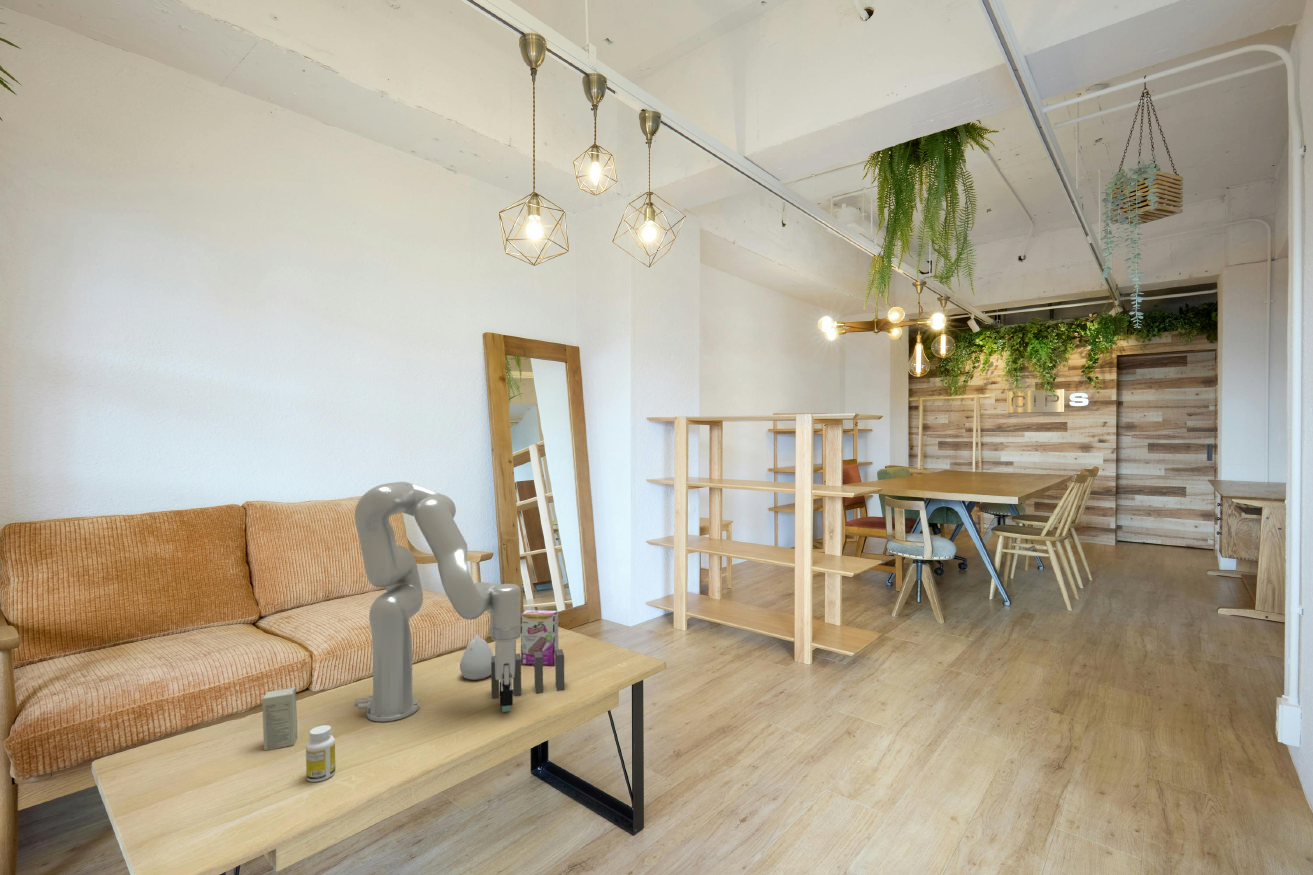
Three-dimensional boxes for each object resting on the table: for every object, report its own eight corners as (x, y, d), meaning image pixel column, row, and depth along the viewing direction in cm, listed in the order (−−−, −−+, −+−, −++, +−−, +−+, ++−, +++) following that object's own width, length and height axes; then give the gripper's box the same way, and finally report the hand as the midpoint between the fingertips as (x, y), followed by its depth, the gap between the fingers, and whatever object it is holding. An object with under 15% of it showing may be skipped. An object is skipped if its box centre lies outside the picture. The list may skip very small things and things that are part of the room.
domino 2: (502, 711, 156) (502, 673, 156) (501, 703, 161) (502, 666, 161) (510, 711, 157) (510, 672, 157) (509, 703, 162) (509, 665, 162)
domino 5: (557, 690, 170) (557, 655, 170) (555, 684, 175) (555, 649, 175) (564, 689, 170) (564, 654, 171) (562, 683, 175) (562, 648, 175)
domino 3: (513, 696, 167) (513, 659, 167) (513, 689, 172) (512, 654, 172) (521, 695, 167) (520, 659, 167) (520, 688, 172) (520, 653, 172)
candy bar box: (520, 665, 190) (519, 613, 190) (525, 660, 195) (524, 609, 195) (555, 666, 189) (554, 614, 189) (559, 660, 194) (558, 609, 194)
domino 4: (535, 693, 168) (535, 657, 168) (534, 686, 173) (534, 651, 173) (543, 692, 169) (542, 656, 169) (541, 685, 174) (541, 651, 174)
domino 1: (491, 698, 165) (491, 662, 165) (491, 691, 170) (491, 656, 170) (499, 697, 166) (498, 661, 166) (498, 690, 170) (498, 655, 171)
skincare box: (297, 737, 144) (297, 686, 145) (294, 745, 140) (293, 693, 141) (266, 742, 142) (266, 690, 142) (262, 751, 138) (261, 697, 138)
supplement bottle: (327, 766, 131) (327, 721, 131) (340, 773, 128) (340, 727, 128) (301, 777, 127) (301, 730, 127) (314, 785, 124) (313, 737, 124)
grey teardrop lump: (456, 673, 184) (456, 634, 184) (491, 667, 189) (490, 629, 189) (463, 685, 175) (462, 644, 175) (499, 678, 180) (498, 638, 180)
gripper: (491, 623, 166) (491, 689, 166) (491, 643, 150) (491, 716, 150) (519, 621, 168) (519, 686, 168) (522, 640, 152) (522, 712, 152)
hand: (505, 699), depth 159 cm, fingers closed on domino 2, 4 cm apart
